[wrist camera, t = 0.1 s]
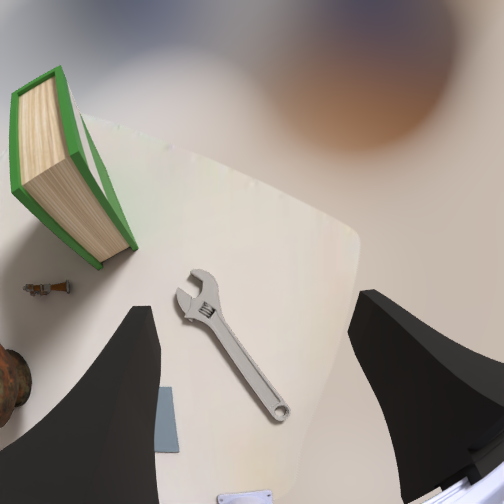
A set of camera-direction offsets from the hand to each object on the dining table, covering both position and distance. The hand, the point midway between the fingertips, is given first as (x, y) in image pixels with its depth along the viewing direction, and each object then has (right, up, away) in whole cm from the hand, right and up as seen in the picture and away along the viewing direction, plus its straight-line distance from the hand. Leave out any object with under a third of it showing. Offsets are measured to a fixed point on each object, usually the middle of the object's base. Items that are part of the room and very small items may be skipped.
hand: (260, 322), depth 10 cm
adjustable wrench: (-3, -12, +30) cm, 33 cm away
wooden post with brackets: (-32, -4, +29) cm, 44 cm away
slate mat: (-14, -21, +25) cm, 36 cm away
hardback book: (-25, +9, +34) cm, 43 cm away
